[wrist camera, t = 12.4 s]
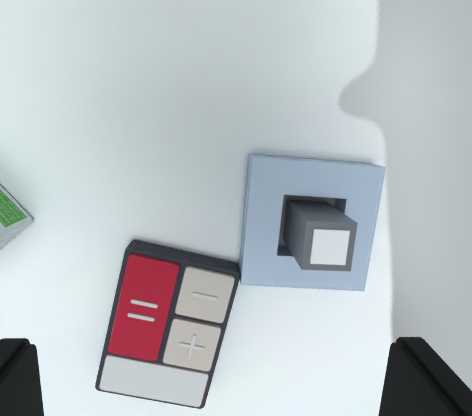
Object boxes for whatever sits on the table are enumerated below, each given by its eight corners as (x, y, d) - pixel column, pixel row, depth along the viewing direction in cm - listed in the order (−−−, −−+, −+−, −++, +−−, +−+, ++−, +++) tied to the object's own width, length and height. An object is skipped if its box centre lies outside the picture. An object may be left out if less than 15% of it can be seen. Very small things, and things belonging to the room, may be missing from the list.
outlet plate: (249, 154, 35) (252, 157, 32) (371, 163, 36) (385, 167, 33) (238, 272, 38) (240, 284, 35) (352, 278, 39) (364, 291, 36)
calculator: (242, 275, 35) (203, 415, 37) (238, 260, 39) (203, 387, 41) (123, 248, 33) (91, 396, 36) (133, 236, 38) (103, 368, 40)
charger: (286, 199, 36) (307, 221, 28) (326, 201, 37) (358, 223, 29) (282, 238, 37) (301, 270, 29) (322, 240, 37) (351, 272, 29)
